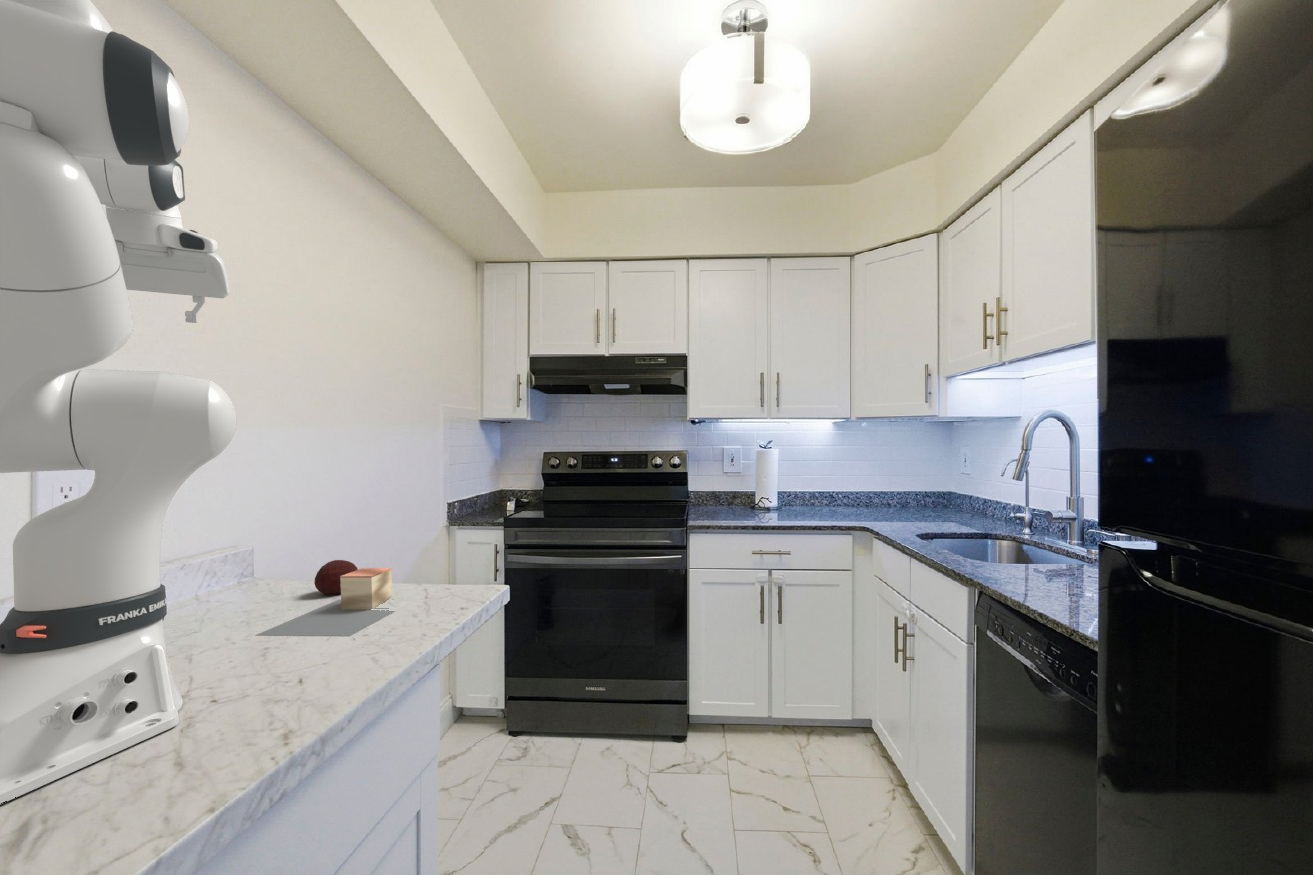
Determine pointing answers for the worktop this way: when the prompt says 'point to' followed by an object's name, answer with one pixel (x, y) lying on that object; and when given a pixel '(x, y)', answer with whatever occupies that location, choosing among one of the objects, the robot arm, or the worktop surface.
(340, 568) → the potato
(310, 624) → the mat
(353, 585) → the block
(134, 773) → the worktop surface
